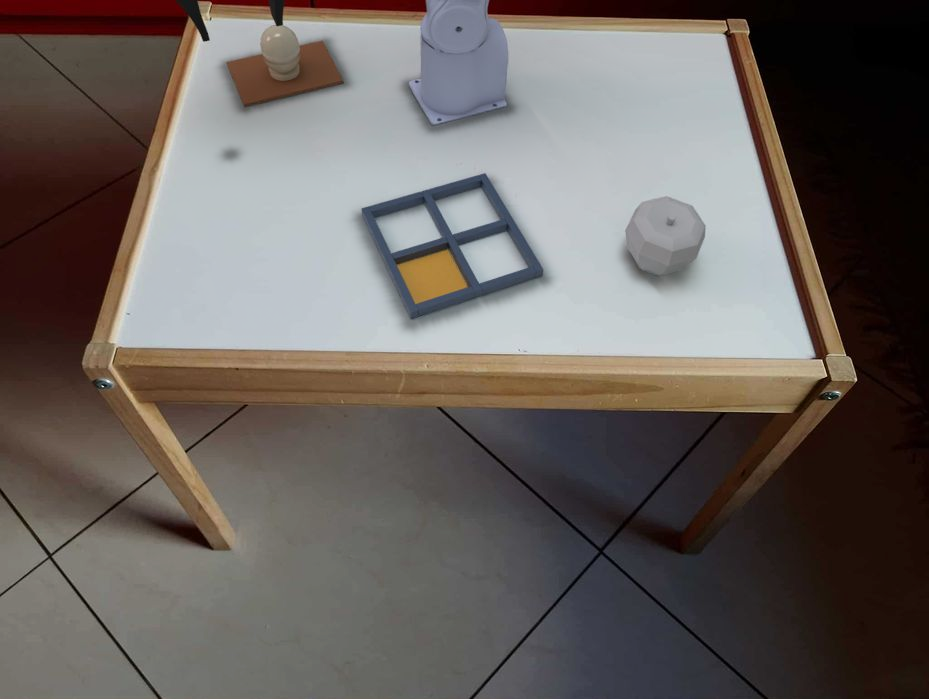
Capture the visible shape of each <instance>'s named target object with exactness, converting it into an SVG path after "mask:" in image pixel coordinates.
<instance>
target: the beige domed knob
mask: <svg viewBox="0 0 929 699" xmlns="http://www.w3.org/2000/svg"><path fill="white" fill-rule="evenodd" d="M259 40H260V41H259V45H260V46H259V47H260V51H261V54H262V57H263V60H264V61H265V63H266V65H267V66H268V67H269V73H270V75H271V76H272V77H273V78H274V79H276V80H280V81H288V80H291V79H294V78H295V77H297V76H298V74H299V72H300V67H299V61H300V56H301V54H300V42H299V39H298V37H297V35H296V33H295V32H294V31H293V30H292V29H291V28H290V27H288V26H286V25H284V24H283V25H282V26H276V24H273V25H270V26H269V27H267V28H265V30H264V31H263V32H262V35H261V37H260V39H259Z"/></svg>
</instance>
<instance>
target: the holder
mask: <svg viewBox="0 0 929 699" xmlns="http://www.w3.org/2000/svg"><path fill="white" fill-rule="evenodd" d="M489 178H490V177H489V176H488V175H487V172H484V173H480V174H478V175H477V174H476V175H474V176H470V177H466V178H463V179H460V180H459V179H458V180H456V181H452V182H449V183H445V184H441V185H438V186H434V187H431V188H428V189H425V190H424V189H423V190H421V191H418V192H413V193H411V194H407V195H403V196H399V197H396V198H393V199H390V200H386V201H383V202H379V203H376V204H372V205H369V206H365V207H361V209H360V210H361V217H362V219H363V220H364V223H365V225H366V227H367V229H368V232H369V234H370V235H371V237H372V240H373V242H374V244H375V246H376V249H377V251H378V253H379V255H380V256H381V259H382V261H383V263H384V265H385V267H386V269H387V270H386V271H388V274H389V276H390V278H391V280H392V282H393V285H394V287H395V289H396V291H397V293H398V295H399V297H400V299H401V302H402V303H403V306H404V308H405V310H406V312H407V314H408V316H409V318H410V320H412V319H415V318H419V317H422V316H425V315H428V314H430V313H434V312H437V311H440V310H443V309H446V308H449V307H452V306H456V305H458V304H462V303H464V302H468V301H470V300H473V299H476V298H479V297H482V296H486V295H488V294H491V293H494V292H498V291H501V290H504V289H506V288H511V287H513V286H517V285H520V284H522V283H525V282H529V281H531V280H534V279H537V278H541V277H542V276H543V273H544V268H543V266H542V265H541V263H540V261H539V260H538V258H537V256H536V254H535V253H534V251H533V249H532V248H531V246H530V244H529V242H528V241H527V240H526V238H525V237H524V234H523V233H522V232H521V229H520V228H519V226H518V225H517V223H516V221H515V220H514V218H513V216H512V215H511V213H510V211H509V210H508V208H507V207H506V205H505V203H504V202H503V200H502V198H501V197H500V195H499V193H498V191H497V190H496V188H495V187H494V185H493V183H492V182H491V180H490V179H489ZM478 188H481V189H482V191H483V193H484V194H485V196H486V198H487V199H488V201H489V203H490V204H491V206H492V208H493V209H494V211H495V213H496V215H497V217H498V219H499V220H496V221H493V222H489V223H486V224H483V225H480V226H476V227H473V228H470V229H469V228H468V229H467V230H463V231H459V232H457V233H454V234H453V233H452V231H451V229H450V227H449V225H448V223H447V222H446V220H445V218H444V216H443V214H442V212H441V210H440V209H439V207H438V205H437V203H436V201H438V200H441V199H444V198H448V197H451V196H454V195H457V194H462V193H464V192H468V191H471V190H475V189H478ZM419 205H424V206H425V209H426V210H427V212H428V214H429V216H430V218H431V219H432V222H433V223H434V226H435V227H436V229H437V231H438V233H439V234H440V236H441V237H440V238H437V239H434V240H431V241H426V242H424V243H421V244H417V245H413V246H411V247H407V248H404V249H399V250H397V251H394V252H391V250H390V248H389V246H388V243H387V241H386V239H385V238H384V235H383V233H382V232H381V229H380V226H379V225H378V223H377V221H376V219H375V218H378V217H381V216H386V215H388V214H389V215H390V214H393V213H395V212H399V211H402V210H406V209H410V208H413V207H416V206H419ZM504 232H507V233H508V235H509V237H510V238H511V240H512V242H513V244H514V245H515V247H516V249H517V250H518V252H519V253H520V256H521V257H522V259H523V260H524V262H525V264H526V266H527V268H522V269H519V270H517V271H513V272H510V273H508V274H505V275H501V276H498V277H495V278H492V279H489V280H486V281H482V282H479V280H478V279H477V277H476V275H475V273H474V271H473V269H472V268H471V266H470V263H469V262H468V260H467V258H466V256H465V255H464V253H463V251H462V250H461V247H460V246H462V245H467V244H468V243H471V242H475V241H478V240H482V239H485V238H489V237H491V236H494V235H498V234H501V233H504Z"/></svg>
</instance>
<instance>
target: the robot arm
mask: <svg viewBox="0 0 929 699" xmlns="http://www.w3.org/2000/svg"><path fill="white" fill-rule="evenodd" d="M174 1H175V2H176V3H177V5H179V6H180V8H182V9H183V11H184V12H185V13H186V15H187V16H188V17H189V18H190V20H191V21H192V23H193V24H194V26H195V27H196V29H197V31H198V33H199V35H200V37H201V40H202V42H204V43H205V42H209V41H211V40H210V34H209V32H208V28H207V27H206V24H205V22H204V19H203V16H202V12H201V8H200V4H199V1H198V0H174ZM285 2H286V0H268V6H269V9H270V14H271V17H272V19H273V21H274V25H276V26H282V25H283V26H284V10H285V9H284V8H285ZM489 2H490V0H425V6H426V13H425V15H424V16H423V18H422V20H421V22H420V28H419V29H420V32H419V33H420V78H416V79H412V80H410V81H409V82H408V87H409V89H410V90H411V92H412V94H413V95H414V97H415V99H416V101H417V102H418V104H419V106H420V108H421V109H422V111H423V113H424V115H425V116H426V118H427V120H428V121H429V123H430V124H431V126H432V127H436V126H439V125H443V124H447V123H451V122H455V121H459V120H463V119H466V118H471V117H474V116H477V115H482V114H484V113H490V112H493V111H497V110H500V109H504V108H506V107H507V101H506V100H505V97H506V96H505V95H506V87H507V86H506V85H507V75H508V68H509V67H508V66H509V45H508V39H507V36H506V33H505V30H504V28H503V27H502V24H501V23H500V21H499V20H498V19H496V18H494V17H489V13H488V7H489Z"/></svg>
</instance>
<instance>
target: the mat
mask: <svg viewBox="0 0 929 699" xmlns="http://www.w3.org/2000/svg"><path fill="white" fill-rule="evenodd" d="M299 46H300V54H301V56H300V61H299V67H300V72H299V74H298V76H297V77H295V78H294V79H291V80H288V81H280V80H276V79H274V78H273V77H272V76H271V75H270V73H269V67H268V66H267V65H266V63H265V61H264V60H263V57H262V53H261V54H255V55H251V56H247V57H242V58H238V59H234V60H229V61H226V66H227V69H228V70H229V74H230V75H231V78H232V80H233V83H234V85H235V88H236V90H237V93H238V95H239V98H240V101H241V103H242V105H243V107H250V106H255V105H259V104H262V103H267V102H270V101H271V102H272V101H275V100H280V99H283V98H288V97H293V96H296V95H300V94H304V93H308V92H312V91H316V90H320V89H325V88H328V87H333V86H336V85H337V86H338V85H341V84H344V79H343V77H342V75H341V73H340V71H339V70H338V67H337V66H336V64H335V61H334V60H333V58H332V56H331V53H330V52H329V50H328V47H327V45H326V44H325V42H324V40H318V41H314V42H309V43H304V44H301V45H300V44H299Z"/></svg>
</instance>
